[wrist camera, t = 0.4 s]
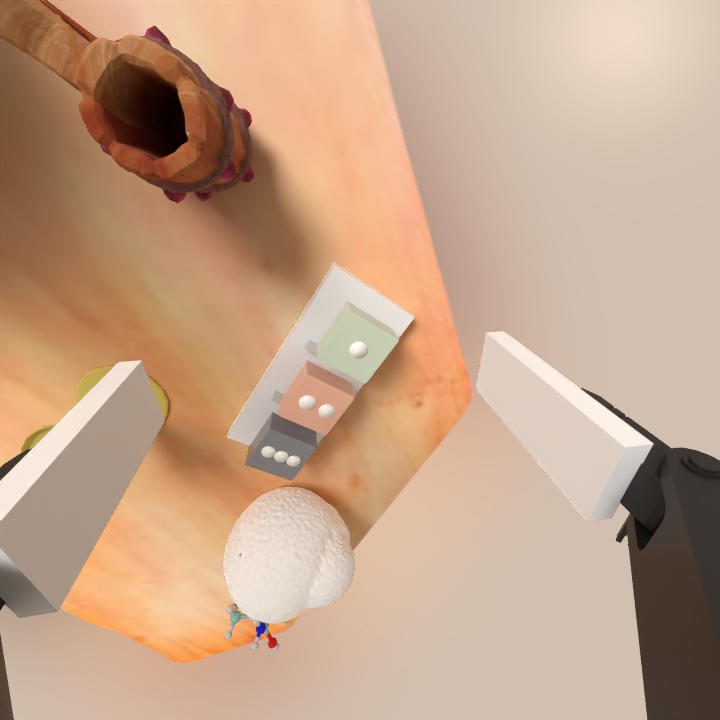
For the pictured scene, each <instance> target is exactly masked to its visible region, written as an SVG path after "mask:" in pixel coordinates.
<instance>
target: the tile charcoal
mask: <svg viewBox="0 0 720 720" xmlns="http://www.w3.org/2000/svg"><path fill="white" fill-rule="evenodd" d="M316 448H317V435H316V431H314V430H311V429H309V428H306V427H304V426H302V425H299V424H297V423H295V422H292V421H290V420H287V419H285V418H283V417H280V416H279V415H278V414H276V413H273V412H272V413H271V415H270V416H269V418H268V419H267V421H266V422H265V424H264V425H263V427H262V428H261V430H260V431H259V433H258V434H257V436H256V437H255V439H254V440H253V442H252V443H251V445H250V446H249V450H248V455H247V459H246V464H245V465H247V466H250V467H253V468H256V469H259V470H262V471H265V472H268V473H270V474H273V475H276V476H279V477H282V478H285V479H288V480H291V481H292V480H293V478H294V477H295V476H296V474H297V473H298V472H299V470H300V469H301V468H302V466H303V465H304V464H305V463H306V461H307V460H308V459H309V457H310V456H311V455H312V453H313V452H314V451H315V450H316Z"/></svg>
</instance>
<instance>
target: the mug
mask: <svg viewBox="0 0 720 720" xmlns="http://www.w3.org/2000/svg"><path fill="white" fill-rule="evenodd" d="M0 37H2V38H3V39H5V40H6V41H8V42H9V43H11V44H13V45H14V46H16V47H17V48H19V49H20V50H22V51H24V52H25V53H27V54H28V55H30V56H32V57H33V58H35V59H36V60H38V61H39V62H41V63H42V64H43V65H45V66H46V67H48V68H49V69H51V70H52V71H54V72H55V73H57V74H58V75H59V76H60V77H62V78H63V79H64V80H65V81H67V82H68V83H69V84H71V85H72V86H73V87H74V88H76V89H77V90H79V91H80V92H82V93H83V97H84V99H83V100H82V101H81V102H80V104H79V109H80V112H81V115H82V118H83V121H84V123H85V125H86V127H87V129H88V131H89V133H90V134H91V136H92V137H93V138H94V139H95V141H96V142H98V143H99V144H101V148H102V149H103V151H104V152H105V153H107V154H109V155H111V156H112V158H113V159H114V160H115V162H116V163H117V164H118V165H119V166H121V167H122V168H124V169H125V170H127V171H129V172H133V173H135V174H136V175H137V176H139V177H140V178H142V179H144V180H145V181H147V182H148V183H150V184H153V185H155V186H157V187H160V188H162V189H163V191H164V193H165V195H166V196H167V197H168V199H169V200H172V201H174V202H176V203H179V202H180V201H181V200H183V199H184V198H185V196H186V192H190V191H195V194H196V196H197V197H198V198H199V199H200V200H202V201H204V200H208V199H209V198H211V195H212V192H216V191H221V190H225V189H228V188H230V187H232V186H233V185H235V184H236V183H238V182H239V181H240V180H242V181H245V182H250V181H251V180H252V179H253V177H254V174H253V171H252V168H251V167H250V166H249V165H250V161H251V152H252V145H251V137H250V133H249V129H248V127H249V126H250V124H251V122H252V120H251V115H250V113H249V112H248V111H247V110H246V109H239V108H238V107H237V106H236V104H235V103H234V100H233V97H232V95H231V93H230V91H228V90H226V89H224V88H222V87H219V86H218V85H216V84H215V83H214V82H212V81H211V80H210V79H209V78H208V77H207V76H206V74H205V73H204V72H203V71H202V70H201V68H200V67H199V66H198V64H196V63H194V62H193V61H192V60H191V59H189V58H188V57H187V56H185V55H184V54H183V53H181V52H180V51H179V50H177V49H175V48H173V47H172V46H171V44H170V42H169V40H168V38H167V37H166V36H165V35H164V34H163V33H162V32H161V31H160V30H159V29H158V28H157V27H156V26H153V27H151V28H149V29H147V31H146V34H145V36H134V35H126V36H124V37H123V39H120V40H117V41H111V40H106V39H98V38H96V37H95V36H94V35H92V34H91V33H90V32H88V31H87V30H86V29H84V28H83V27H82V26H80V25H79V24H78V23H76V22H75V21H74V20H72V19H71V18H70V17H68V16H67V15H66V14H64V13H63V12H62V11H60V10H59V9H58V8H56V7H55V6H54V5H52V4H51V3H50V2H49V1H47V0H0Z"/></svg>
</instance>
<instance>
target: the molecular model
mask: <svg viewBox="0 0 720 720" xmlns="http://www.w3.org/2000/svg"><path fill="white" fill-rule="evenodd" d="M236 609H237V606H236V605H235V604H233V605H230V606H228V607H227V610H226V611H227V613H228V614H231V618H230V619H231V622H232V623H231V625H230V628H229V630H228V631H227V632H226V633H225V638H226V639H230V638H231V636H232V629H233V627H234V624H235V623H237V622H238V621H239V620H240V619H242V618H249V617H248V616H247V615H246V614H242V615H241V613H240V612H239V611H236ZM252 622H253V625H257V627H256V631H257V636H256V638H255V641H254V642H253V643H252V645H251V649H252V650H256V649H257V648H258V640H259V637H260V635H261V634H263V633H264V632H265V633H266V635H267V637H268V639H269V642H268V646H269V648H273V650H274V651H276V650H278V648H279V644H278V643H277V640H276V639H275V638H274V637H273V638H272V637H271V635H270V633H269V631H268V629H267V628H268V626H269V624H268V623H265V622H260V621H258V620H253V621H252Z"/></svg>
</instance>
